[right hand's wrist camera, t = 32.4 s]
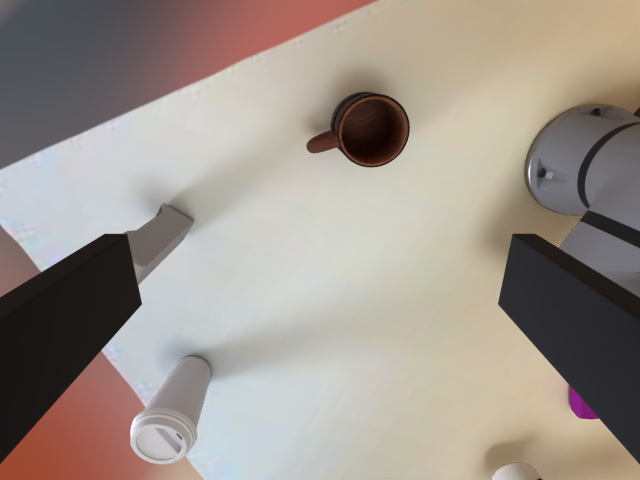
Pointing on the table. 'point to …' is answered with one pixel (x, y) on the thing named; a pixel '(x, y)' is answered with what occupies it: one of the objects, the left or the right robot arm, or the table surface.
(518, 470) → the can
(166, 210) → the vintage mobile phone
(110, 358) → the table surface
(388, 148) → the mug
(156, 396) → the coffee cup
